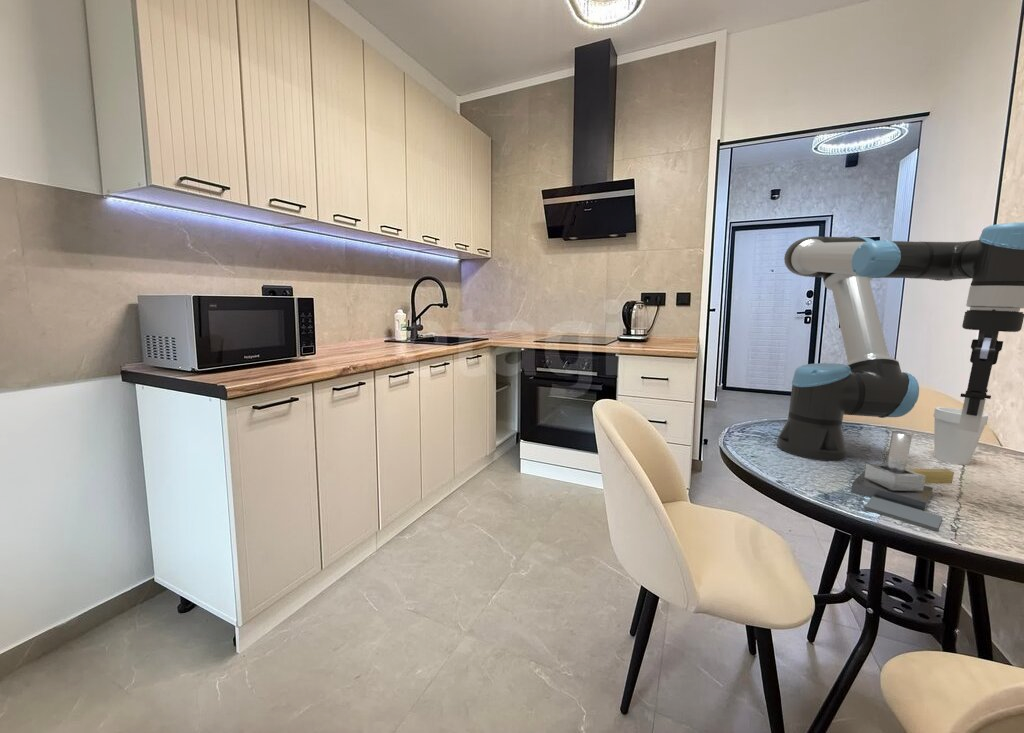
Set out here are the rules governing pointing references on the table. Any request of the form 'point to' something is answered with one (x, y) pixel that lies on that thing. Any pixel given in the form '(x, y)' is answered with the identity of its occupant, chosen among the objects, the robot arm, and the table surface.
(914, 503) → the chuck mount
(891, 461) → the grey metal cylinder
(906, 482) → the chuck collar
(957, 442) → the grey rounded piece
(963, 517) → the table surface
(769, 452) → the table surface
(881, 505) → the pad
